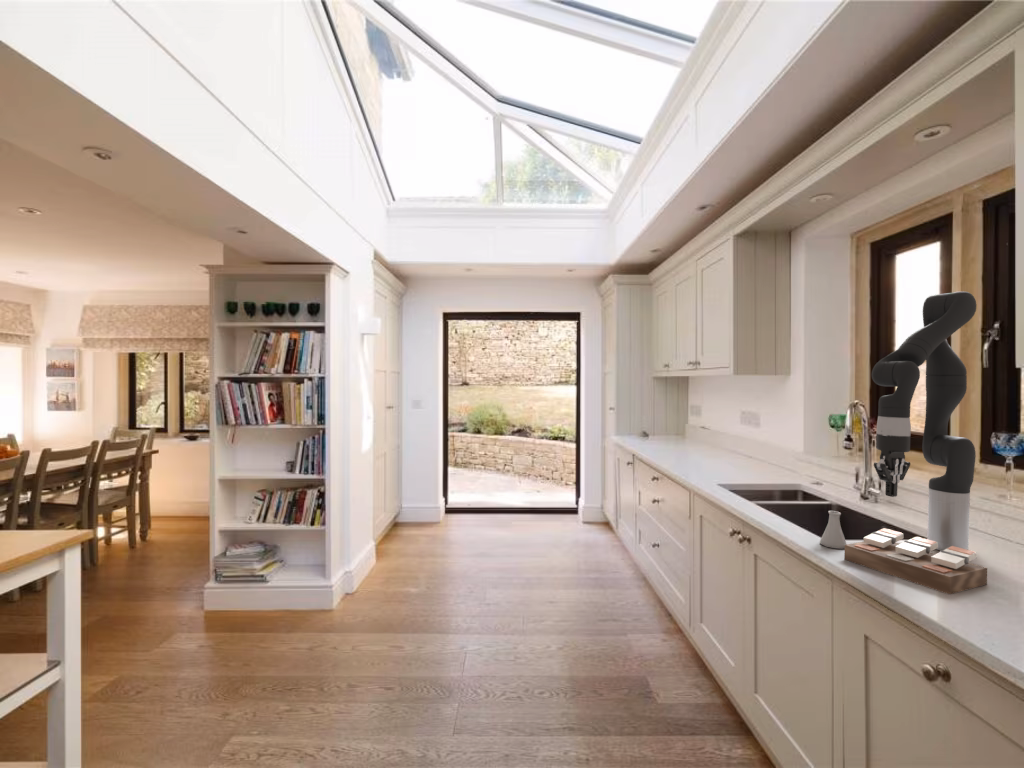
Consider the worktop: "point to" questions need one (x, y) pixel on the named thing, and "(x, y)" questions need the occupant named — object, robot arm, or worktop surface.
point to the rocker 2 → (916, 547)
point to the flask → (833, 532)
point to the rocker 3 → (954, 557)
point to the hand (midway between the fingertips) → (891, 496)
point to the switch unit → (917, 568)
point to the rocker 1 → (883, 537)
